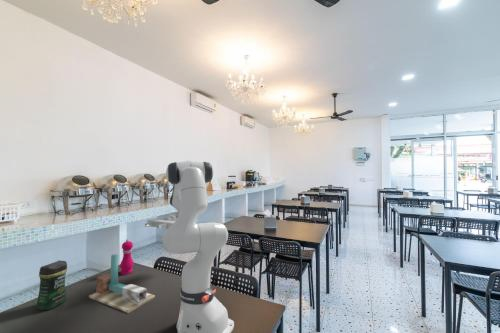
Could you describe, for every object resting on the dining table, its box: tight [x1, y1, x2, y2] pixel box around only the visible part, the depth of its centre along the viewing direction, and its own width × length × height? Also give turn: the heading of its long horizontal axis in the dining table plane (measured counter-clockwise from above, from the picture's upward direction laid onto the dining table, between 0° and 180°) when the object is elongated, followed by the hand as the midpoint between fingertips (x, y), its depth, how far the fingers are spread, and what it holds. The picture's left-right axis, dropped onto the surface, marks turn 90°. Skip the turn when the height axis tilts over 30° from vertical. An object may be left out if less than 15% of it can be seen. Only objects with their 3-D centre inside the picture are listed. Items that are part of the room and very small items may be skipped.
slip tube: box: [107, 253, 128, 294], centre depth 111 cm, size 17×3×16 cm, turn 64°
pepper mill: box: [119, 238, 135, 276], centre depth 139 cm, size 7×7×20 cm
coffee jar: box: [36, 260, 68, 311], centre depth 104 cm, size 10×8×19 cm
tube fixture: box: [88, 271, 156, 314], centre depth 110 cm, size 28×14×8 cm, turn 64°
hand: (151, 226), depth 124 cm, fingers open, 8 cm apart
